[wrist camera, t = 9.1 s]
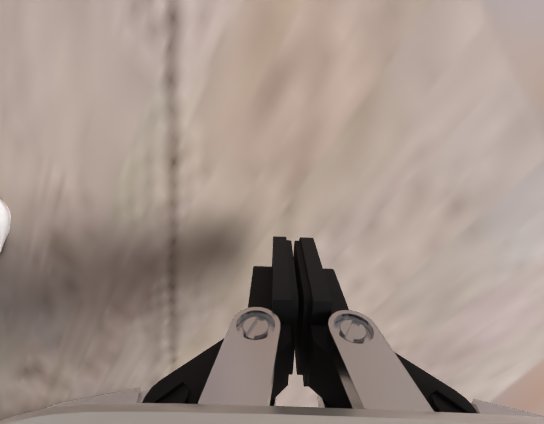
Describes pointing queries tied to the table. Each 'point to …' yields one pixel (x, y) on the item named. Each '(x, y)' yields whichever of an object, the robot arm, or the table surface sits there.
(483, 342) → the table surface
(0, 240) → the rose
